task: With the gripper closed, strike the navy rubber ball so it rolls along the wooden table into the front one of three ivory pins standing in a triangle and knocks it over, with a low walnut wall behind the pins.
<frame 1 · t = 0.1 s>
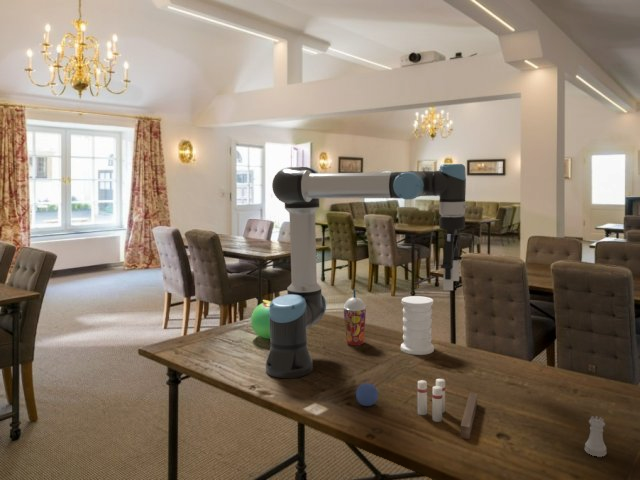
hand: (451, 285, 164), 28 cm above the table, fingers open, 13 cm apart
toy bird: (273, 337, 207), on the table
rook chess piece: (595, 453, 120), on the table
front pin: (422, 413, 141), on the table
pin 1: (437, 419, 137), on the table
pin 2: (440, 411, 142), on the table
decorative container: (417, 349, 190), on the table
ball: (366, 394, 146), on the table
smoothie: (355, 343, 199), on the table
back wall: (469, 419, 137), on the table
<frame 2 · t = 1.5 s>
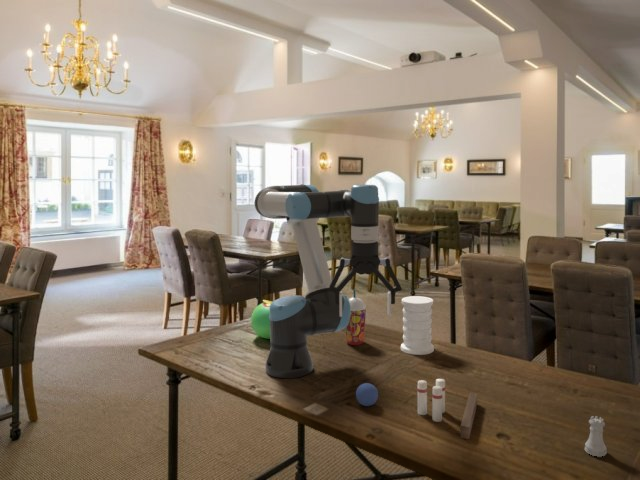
hand: (365, 315, 152), 23 cm above the table, fingers open, 13 cm apart
nothing on the table moved.
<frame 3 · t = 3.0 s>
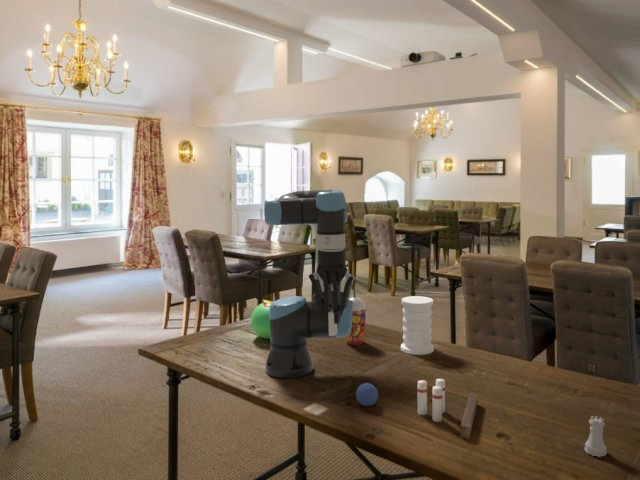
hand: (333, 334, 147), 19 cm above the table, fingers closed
nothing on the table moved.
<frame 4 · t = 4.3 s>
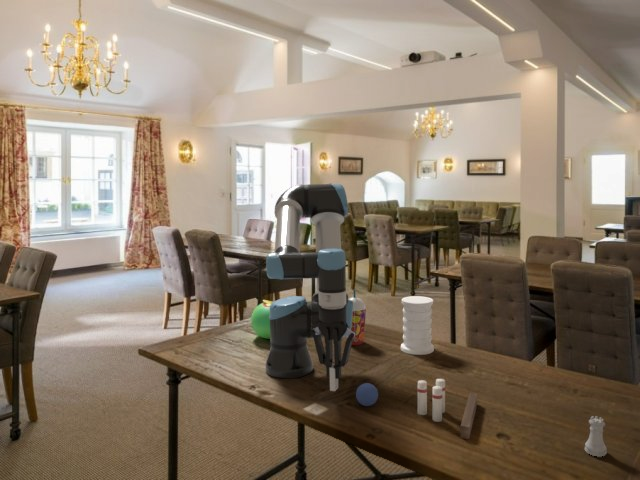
hand: (334, 389, 149), 3 cm above the table, fingers closed
nothing on the table moved.
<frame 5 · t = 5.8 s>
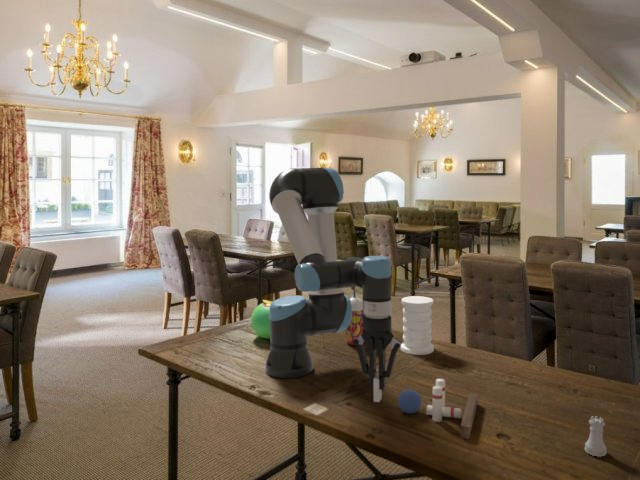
hand: (377, 399, 145), 2 cm above the table, fingers closed
front pin: (427, 409, 140), point 1 cm above the table, tilted 89°
ball: (409, 401, 141), on the table
everything else where it was.
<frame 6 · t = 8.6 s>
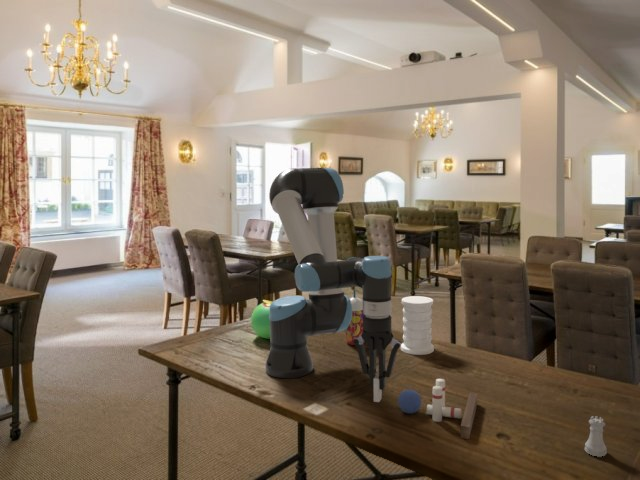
hand: (377, 399, 145), 2 cm above the table, fingers closed
nothing on the table moved.
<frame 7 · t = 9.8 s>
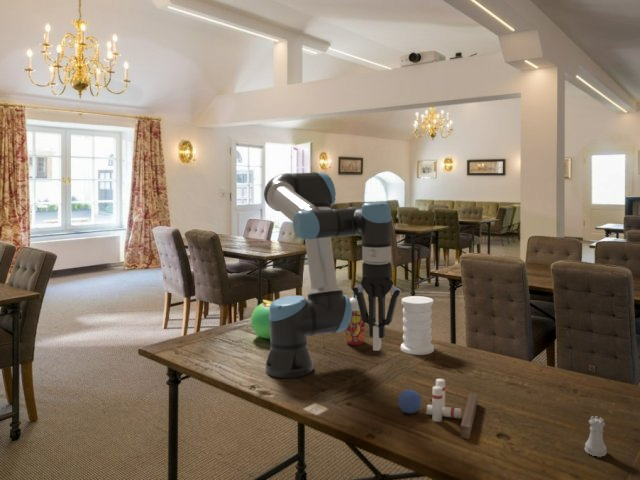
hand: (377, 348, 143), 16 cm above the table, fingers closed
nothing on the table moved.
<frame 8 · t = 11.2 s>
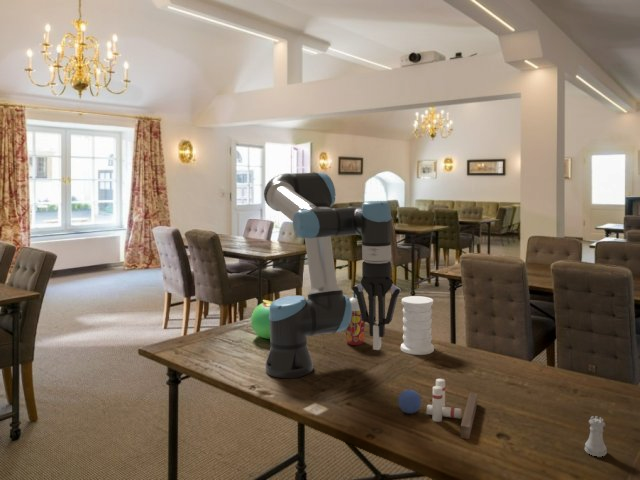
hand: (377, 348, 143), 16 cm above the table, fingers closed
nothing on the table moved.
at the end: front pin tilted 90°; front pin never touched the robot; ball moved 11.8 cm from its start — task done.
